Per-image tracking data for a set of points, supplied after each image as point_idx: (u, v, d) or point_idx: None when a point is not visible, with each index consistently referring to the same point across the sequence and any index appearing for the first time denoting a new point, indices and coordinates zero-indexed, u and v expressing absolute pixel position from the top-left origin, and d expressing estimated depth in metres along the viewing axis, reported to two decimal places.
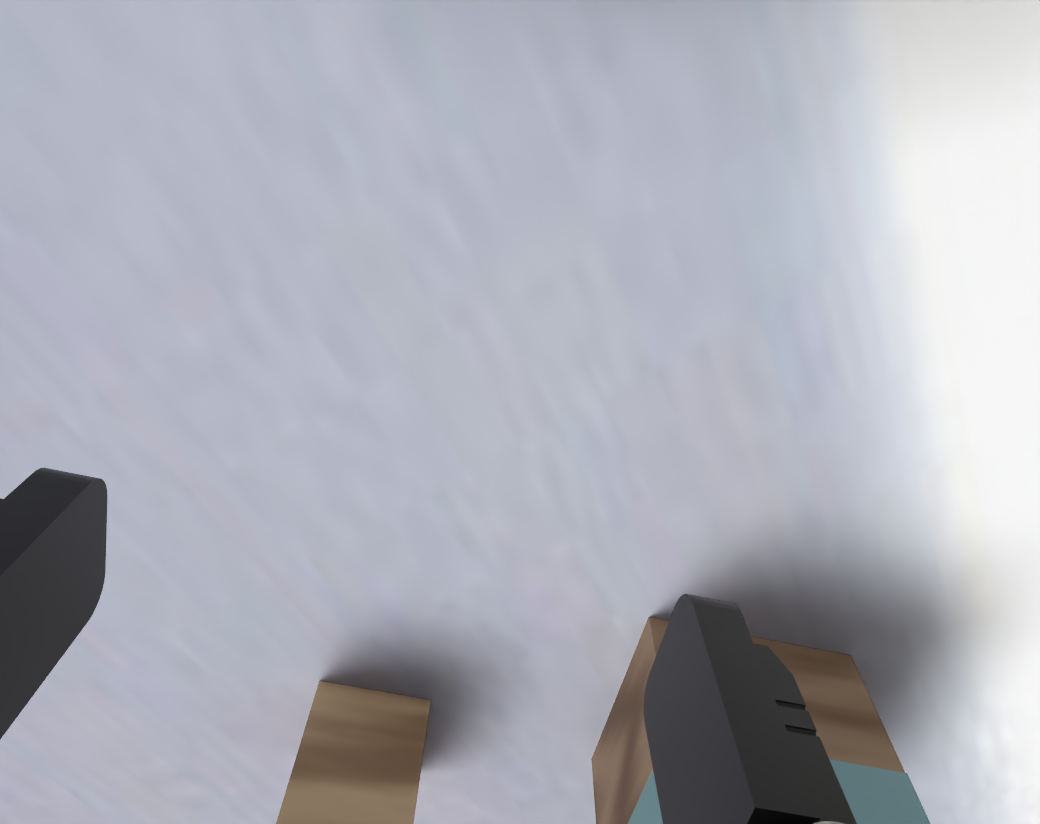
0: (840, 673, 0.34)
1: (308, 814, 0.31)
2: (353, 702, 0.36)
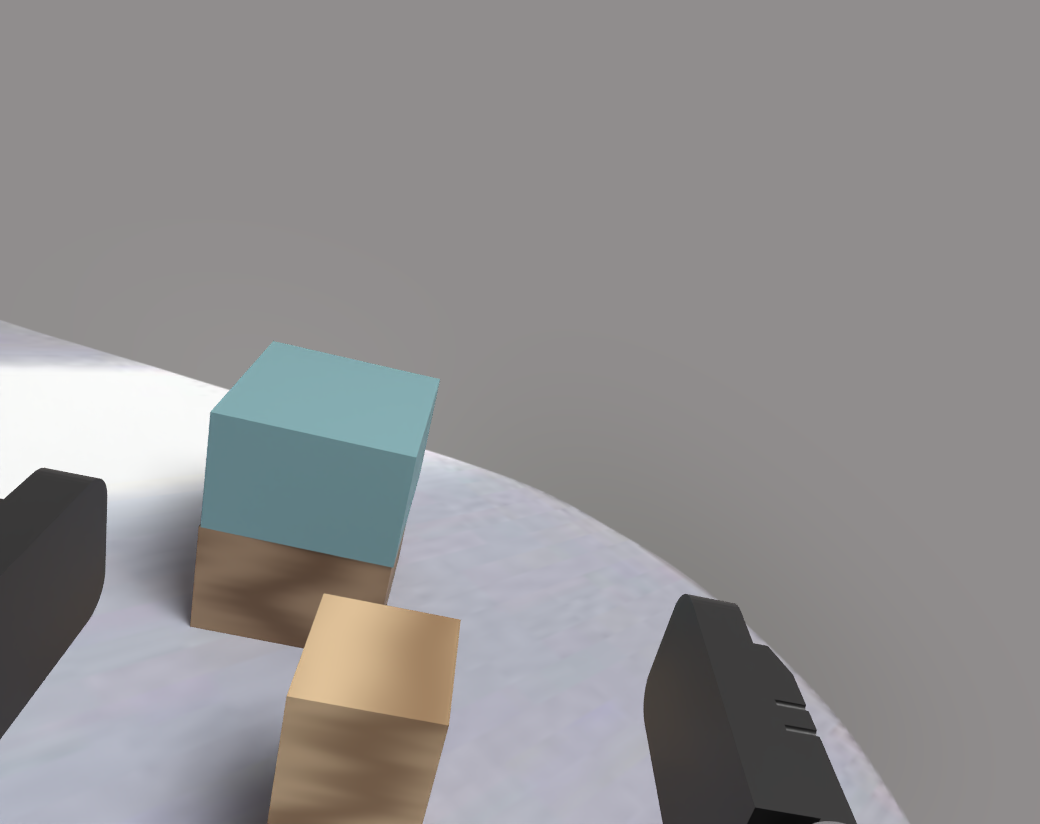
0: None
1: None
2: None
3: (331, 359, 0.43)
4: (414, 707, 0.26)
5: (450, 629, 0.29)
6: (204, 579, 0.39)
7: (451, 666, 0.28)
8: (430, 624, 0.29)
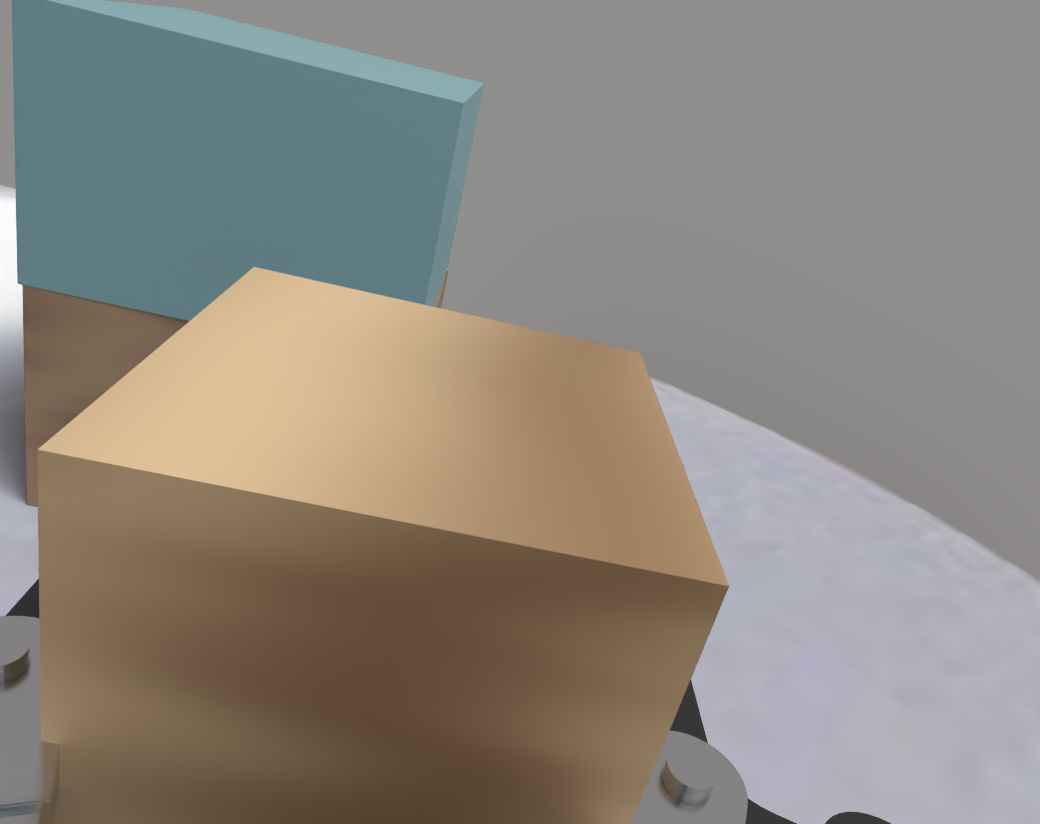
0: None
1: None
2: None
3: (290, 36, 0.24)
4: (578, 523, 0.06)
5: (621, 365, 0.10)
6: (45, 404, 0.20)
7: (659, 433, 0.08)
8: (563, 350, 0.10)
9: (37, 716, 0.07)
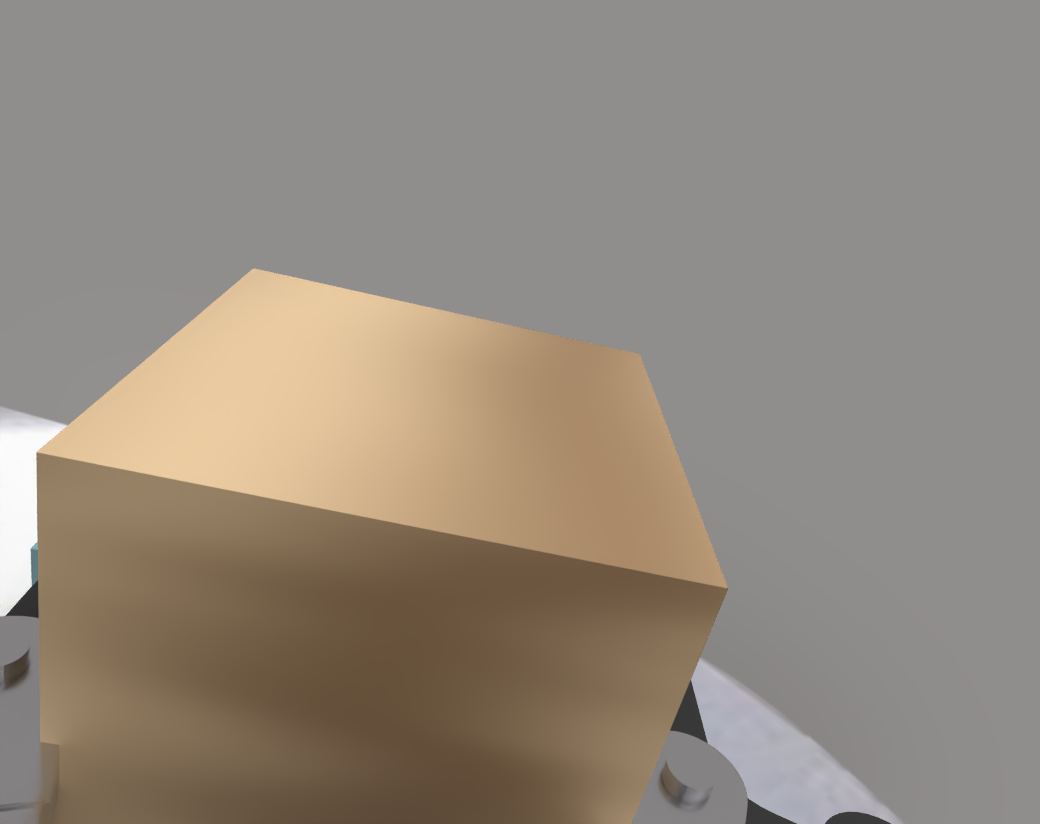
0: None
1: None
2: None
3: None
4: (577, 524, 0.06)
5: (621, 366, 0.10)
6: None
7: (658, 434, 0.08)
8: (563, 351, 0.10)
9: (37, 716, 0.07)
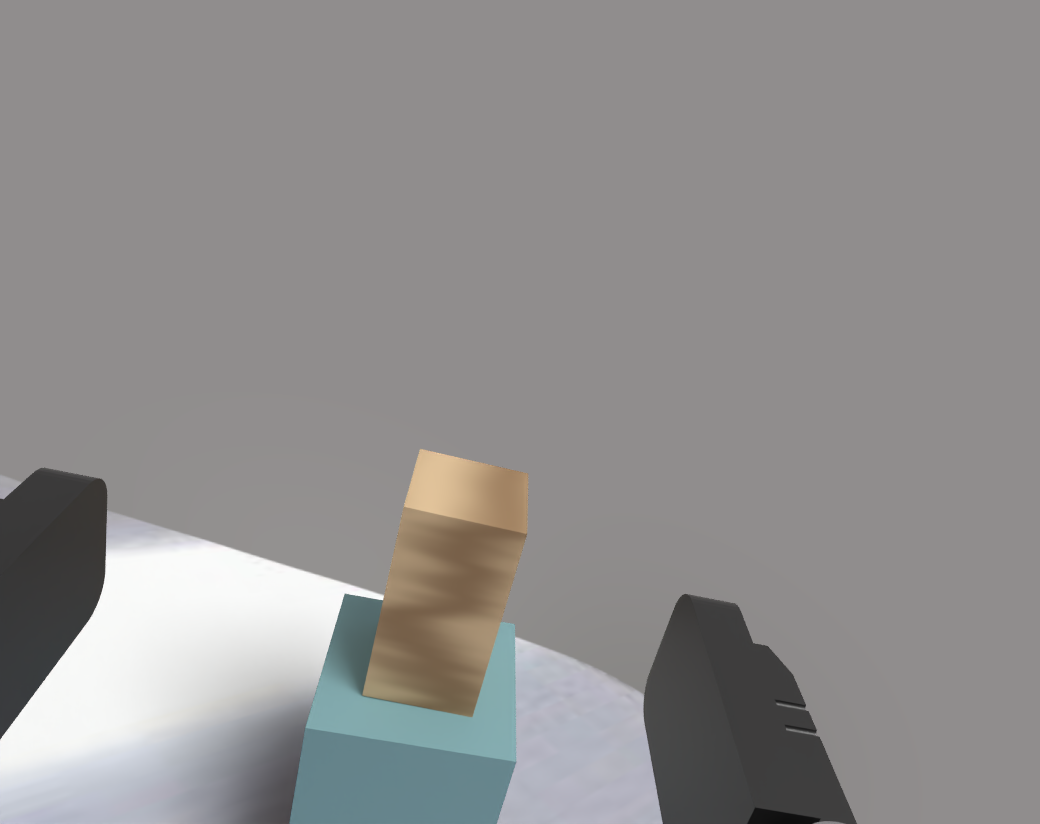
0: None
1: None
2: None
3: None
4: (500, 521, 0.33)
5: (521, 478, 0.37)
6: None
7: (524, 500, 0.35)
8: (505, 474, 0.37)
9: None
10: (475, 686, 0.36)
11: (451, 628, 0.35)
